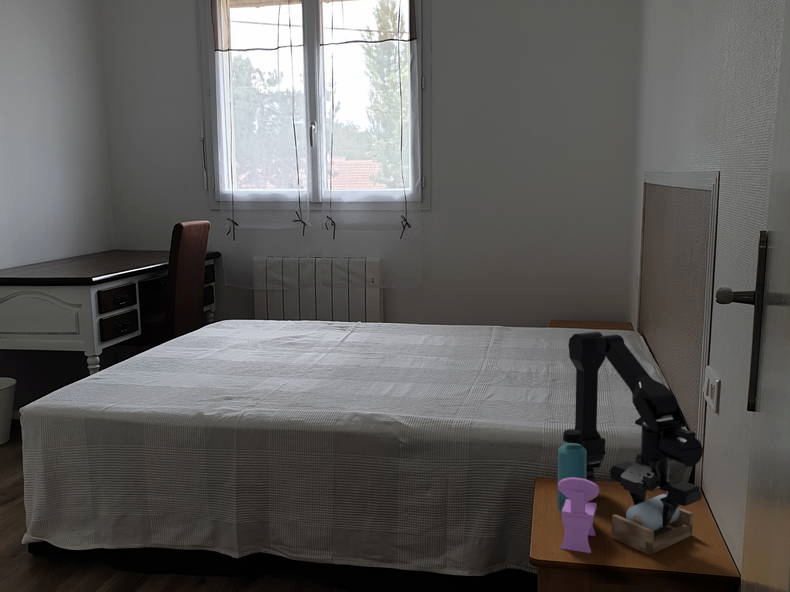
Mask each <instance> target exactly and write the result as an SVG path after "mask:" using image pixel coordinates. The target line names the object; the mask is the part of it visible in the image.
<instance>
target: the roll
mask: <svg viewBox="0 0 790 592" xmlns="http://www.w3.org/2000/svg"><path fill="white" fill-rule="evenodd" d="M666 496H667V493H662V494H658V495H657V496H654V497H651V498H649V499H645V501H644V502H641V503H639V504H637V505H634V504H633V505H632V506H630V507H628V509H627V510H626V513H625V514H626V515H625V518H626V519H628V520H632V521H635V522H637V523H639V524H640V525H642V526H645V527H647V528H649V529H652V530H656V529H659V528H661V527H663V503H662V502H661V500H660V499H661V498H664V497H666ZM679 508H680V506H679V507H678V508H677V510H676V511H675V513H674V515H673V517H672V519H671V520H670V522H669V524H670V523H672V522H674V521H676V520H677V519H678V518H679V515H680V510H679Z"/></svg>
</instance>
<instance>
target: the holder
mask: <svg viewBox="0 0 790 592" xmlns="http://www.w3.org/2000/svg"><path fill="white" fill-rule="evenodd" d="M679 510H680V515H679V518H678V519H677V520H676V521H674V522H672V523H670V524H668V526H666V527H664V526H663V527H661V528H659V529H656V530H652V529H649V528H647V527H645V526H642V525H640V524H639V523H637V522H635V521H632V520H628V519H626V517H623V516H621V515H618V514H616V513H615V514H613V515H612V516H611V517H612V518H611V519H612V520H611V538H612V539H613V540H615V541H618V542H620V543H622V544H625V545H627V546H629V547H631V548H633V549H634V550H635V549H636V550H638V551H640V552H642V553H645V554H646V555H648V556H651V555H653V554H656V553H657V552H659V551H662V550H664V549H666V548H668V547H670V546H672V545H674V544H677V543H678V542H680V541H683V540H685V539H687V538H689V537H692V536H693V524H694V523H693V522H694V512H692V511H689V510H687V509H684V508H681V507H679Z"/></svg>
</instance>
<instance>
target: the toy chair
mask: <svg viewBox="0 0 790 592" xmlns="http://www.w3.org/2000/svg"><path fill="white" fill-rule="evenodd" d="M558 489H559V491H560V492H561V493H562V494H564V495H565V496H566V497H567V498H569V499H570V500H569V499H566V501H565V504H564V507H563V509H562V513H561V516H560V517H561V522H562V525H563V528H564V538H563V540H562V542H561V544H560V547H559V548H560V549H562V550H568V551H574V552H582V553H588V554H592V550H591V547H590V542H589V536H592V537H596V532H595V529H594V528H595V527H594V524H593V523H594V520H595V519H594V518H595V514H596V512H597V509H598V508H597V505H598V504H597V502H590V501H592V500H594V499H596V498H597V497H598V495H599V493H600V487H599V486H598V484H596V482H595V483H593V482H591V481H589V480H586V479H582V478H575V477H571V478H565V479H562V480H560V481H559V483H558V482H557V490H558Z"/></svg>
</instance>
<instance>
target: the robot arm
mask: <svg viewBox="0 0 790 592" xmlns="http://www.w3.org/2000/svg"><path fill="white" fill-rule="evenodd" d="M568 352H569V360H570V361H571V363H572V365H573V367H574V368H575V371H576V372H575V373H576V374H575V412H574V413H575V416H574V417H575V420H574V421H575V422H574V430H579V431H580V432H581V434H582V442H580V443H576V444H580V445H581V446H583V447H584V448H585V449H586V451H587V454H586V471H587V472H586V477H587V478H586V480H589V481H591V482H593V483H595V484H596V476H595V469H600V468H601V465H602V462H603V461H604V458H605V456H606V441H607V440H606V438H604V437H602V436H601V435H600V433H599V431H598V428H597V427H598V425H597V424H598V388H599V387H598V385H599V384H598V383H599V370H600V369H601V367H602V365H603V364H604V361H605V360H606V359H607V360H608V361H609V363H610V364H611V365H612V367H613V368H614V369H615V371H616V373H617V374H618V375H619V376H620V377H621V379H622V380H623V382H624V383H625V384H626V386H627V387H628V388H629V390H630V392H631V394H632V398H631V399H632V404H633V406H634V407H635V410H636V411H637V413H638V414H639V416H640V417H639V418H638V419H636V420H634V424H635V425H637V426H640V427H641V441H640V442H641V443H640V453H638V454H636V457H635V462H634V463H633V462H630V461H627V460H625V461H623V462H620V463H616V464H614V465H613V466H611V468H610V469H609V478H610V479H611V480H614V481H616V482H618V483H620V486H621V487H623V490H624V491H628V493H629V495H630V496H631V499H632V502H633V506H634V505H637V504H639V503H641V502H644V501H646V496H647V491H649V492H654V490H655V489H658V490H662V491H664V492H666V494H667V496H666V497H664V498H661V499H660V500H661V502H662V503H663V526H664V527H666V526H668V524H669V522H670V520H671V519H672V517H673V515H674V513H675V511H676V510H677V508H678V507H679V508H680V506H683V507H686V506H689V505H692V504H694V503H696V502H698V501H701V500H702V490H701V488H700V487H699V486H698V485H696V484H693V483H690V482H687V481H683V480H682V481H681V482H677V483H672V482H669V480H672V479H673V473H672V472H670V462H671V461H674V462H677V463H679V464H680V465H682V466H685V467H687V468H688V467H689V468H690V467H693V466H696V465H697V464H698V463H699V462H700V461H701V459H702V456H703V454H704V448H703V446H702V443H701V441H700V440H699V439H697V438H696V432H695V431H692V430H687V429H685V428H687V426H688V424H687V422H686V418H685V416H684V413H683V412H682V410H681V408H680V405H679V403H678V400H677V397H676V395H675V394H674V393H673V392H672V391H671V390H670V389H669V388H668V387H667V386H666V385H665V384H664V383H662V382H659V381H657V380H655V379H653V378H652V377H651V376H650V375H649V373H648V372H647V371H646V370H645V368H644V367H643V366H642V364H641V363H640V362H639V360H638V359H637V358H636V357H635V356H634V353H632V351H631V350H630V349H629V347H628V346H627V344H626V343H625V340H624V338H623V336H621V335H619V334H608V335H605V334H604V335H603V334H602V333H601V332H599V331H590V332H580V333H574V334H572V336H571V337H569V339H568ZM670 418H672V419H670ZM664 419H666V420H664ZM667 419H668V420H667Z"/></svg>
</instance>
